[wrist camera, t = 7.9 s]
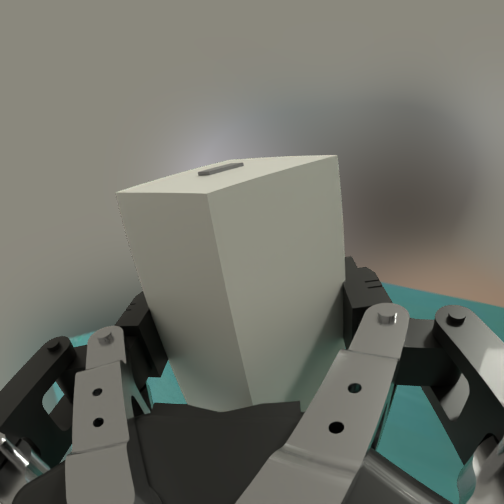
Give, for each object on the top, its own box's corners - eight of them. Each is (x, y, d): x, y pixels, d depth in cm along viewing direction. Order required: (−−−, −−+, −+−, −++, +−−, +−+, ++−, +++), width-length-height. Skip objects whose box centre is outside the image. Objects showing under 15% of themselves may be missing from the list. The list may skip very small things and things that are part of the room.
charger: (269, 394, 16) (228, 157, 11) (340, 429, 12) (337, 151, 8) (207, 445, 13) (114, 189, 8) (277, 497, 10) (205, 188, 5)
